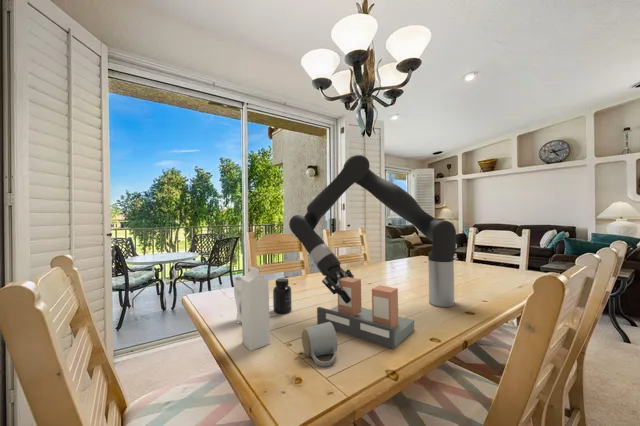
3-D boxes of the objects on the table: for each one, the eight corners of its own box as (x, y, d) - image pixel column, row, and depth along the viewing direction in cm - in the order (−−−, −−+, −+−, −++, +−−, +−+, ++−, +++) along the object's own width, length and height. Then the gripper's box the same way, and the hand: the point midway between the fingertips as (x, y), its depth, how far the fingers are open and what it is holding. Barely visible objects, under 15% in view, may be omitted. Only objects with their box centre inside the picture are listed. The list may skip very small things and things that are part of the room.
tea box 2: (380, 319, 86) (379, 285, 86) (398, 324, 82) (397, 288, 82) (372, 325, 82) (371, 289, 82) (390, 330, 78) (389, 292, 78)
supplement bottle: (290, 307, 108) (289, 276, 108) (292, 313, 101) (292, 281, 101) (272, 308, 106) (272, 278, 106) (274, 315, 100) (273, 282, 100)
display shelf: (343, 310, 103) (343, 296, 103) (414, 329, 85) (413, 312, 85) (316, 324, 91) (316, 308, 91) (392, 349, 73) (392, 329, 73)
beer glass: (259, 317, 98) (258, 276, 98) (248, 325, 91) (246, 280, 91) (242, 315, 100) (241, 274, 100) (230, 323, 94) (229, 279, 93)
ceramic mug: (300, 349, 75) (300, 321, 74) (328, 344, 77) (328, 317, 77) (312, 371, 65) (311, 339, 64) (343, 364, 67) (343, 333, 67)
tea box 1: (346, 308, 94) (346, 276, 94) (361, 312, 91) (360, 279, 91) (337, 312, 91) (337, 279, 90) (352, 316, 87) (352, 282, 87)
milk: (250, 351, 74) (248, 271, 74) (242, 342, 79) (239, 267, 79) (270, 344, 78) (268, 267, 78) (261, 336, 83) (259, 264, 83)
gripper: (317, 255, 90) (348, 298, 82) (342, 250, 101) (371, 287, 93) (305, 269, 93) (334, 312, 86) (331, 262, 104) (358, 300, 97)
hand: (353, 299), depth 89 cm, fingers closed on tea box 1, 5 cm apart
